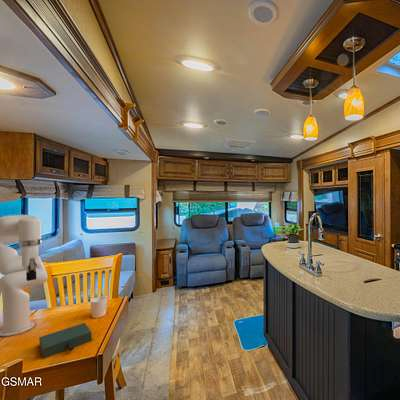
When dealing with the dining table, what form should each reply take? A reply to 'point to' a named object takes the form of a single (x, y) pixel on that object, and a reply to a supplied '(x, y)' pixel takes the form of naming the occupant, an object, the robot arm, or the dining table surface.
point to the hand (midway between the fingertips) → (31, 279)
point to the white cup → (98, 306)
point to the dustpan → (64, 339)
